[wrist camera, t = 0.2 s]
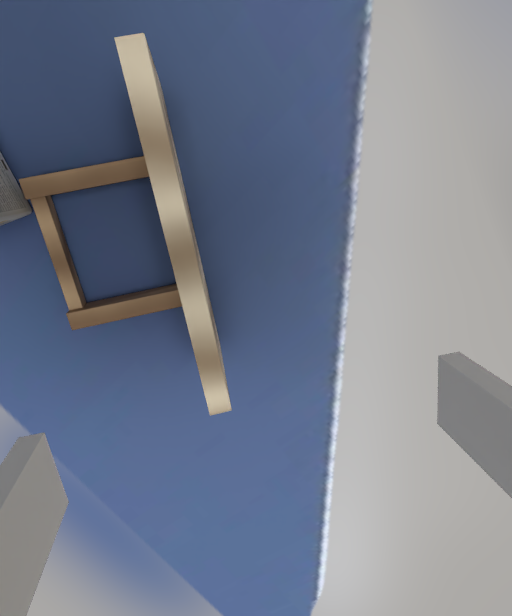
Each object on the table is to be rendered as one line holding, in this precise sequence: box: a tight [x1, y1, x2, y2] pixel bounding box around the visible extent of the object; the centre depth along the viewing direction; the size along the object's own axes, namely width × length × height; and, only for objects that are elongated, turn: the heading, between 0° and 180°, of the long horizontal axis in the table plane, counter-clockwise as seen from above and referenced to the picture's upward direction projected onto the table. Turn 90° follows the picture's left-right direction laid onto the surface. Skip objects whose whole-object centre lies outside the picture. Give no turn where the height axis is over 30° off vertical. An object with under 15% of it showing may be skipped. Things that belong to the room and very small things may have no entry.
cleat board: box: [19, 33, 232, 415], centre depth 32 cm, size 24×13×13 cm, turn 10°
